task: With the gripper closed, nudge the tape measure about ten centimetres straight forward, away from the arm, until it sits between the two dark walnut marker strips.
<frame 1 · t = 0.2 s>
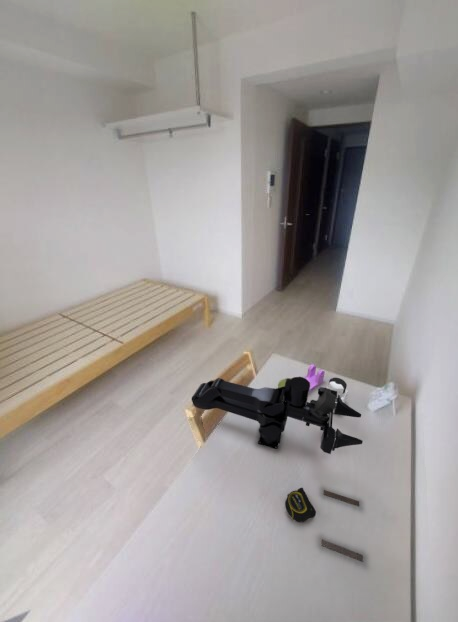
hand: (361, 428, 75), 16 cm above the table, tool horizontal, fingers open, 9 cm apart
tape measure: (299, 508, 73), on the table
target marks: (338, 521, 70), on the table
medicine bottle: (332, 405, 103), on the table
bracket: (307, 385, 113), on the table
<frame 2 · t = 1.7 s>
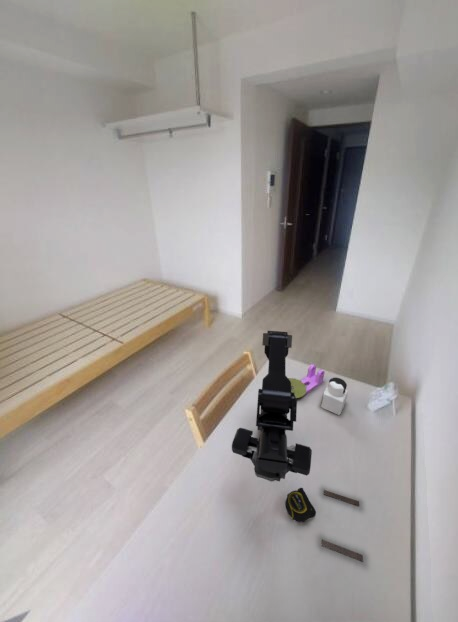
hand: (269, 470, 70), 12 cm above the table, tool pointing down, fingers open, 7 cm apart
nothing on the table moved.
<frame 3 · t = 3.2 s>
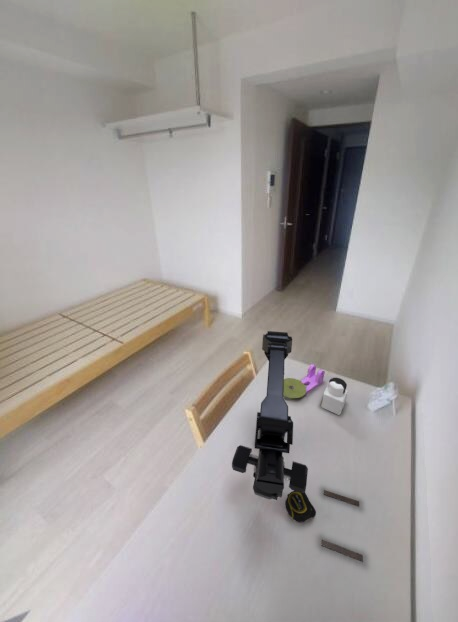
hand: (267, 485, 73), 5 cm above the table, tool pointing down, fingers closed
nothing on the table moved.
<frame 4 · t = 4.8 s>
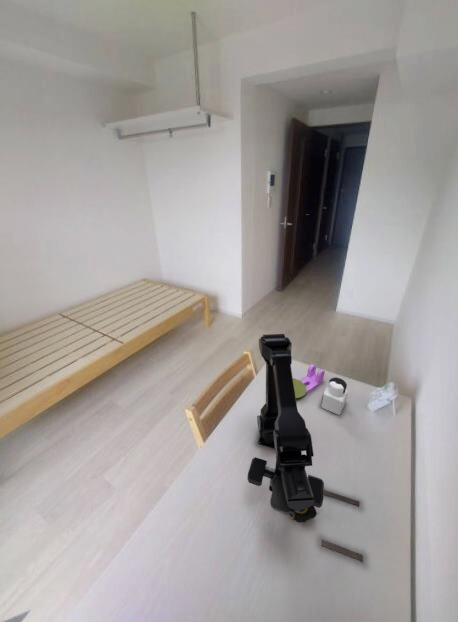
hand: (282, 498, 73), 2 cm above the table, tool pointing down, fingers closed
tape measure: (299, 508, 73), on the table, touching gripper
everything else where it was.
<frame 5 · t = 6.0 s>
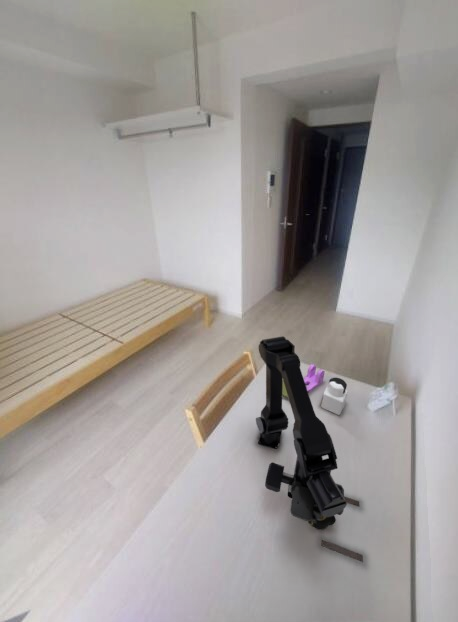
hand: (299, 504, 72), 2 cm above the table, tool pointing down, fingers closed
tape measure: (317, 514, 71), on the table, touching gripper
everything else where it was.
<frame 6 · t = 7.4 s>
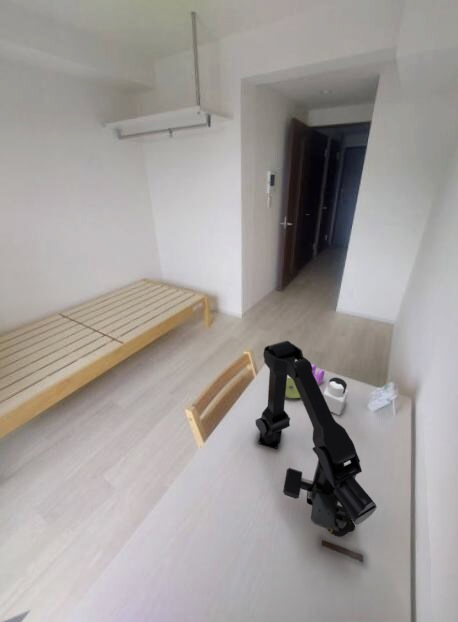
hand: (317, 510, 71), 2 cm above the table, tool pointing down, fingers closed
tape measure: (336, 521, 70), on the table, touching gripper
everything else where it was.
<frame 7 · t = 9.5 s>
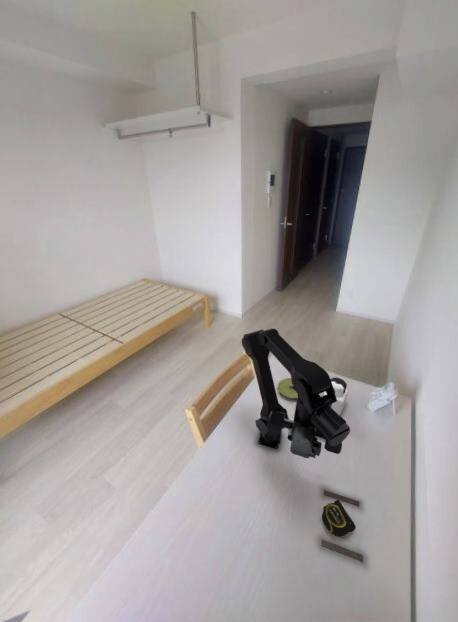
hand: (299, 450, 75), 12 cm above the table, tool pointing down, fingers closed
tape measure: (336, 521, 70), on the table
everything else where it was.
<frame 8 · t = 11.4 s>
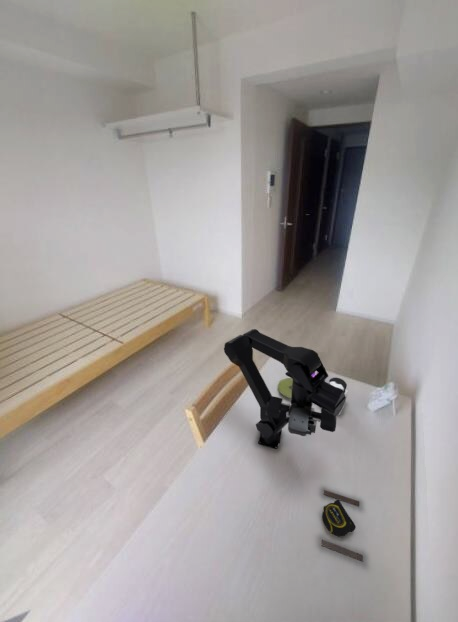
hand: (297, 433, 79), 12 cm above the table, tool pointing down, fingers closed
nothing on the table moved.
at the end: tape measure inside the target area (0.9 cm from its centre), on the table; tape measure moved 9.4 cm from its start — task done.
